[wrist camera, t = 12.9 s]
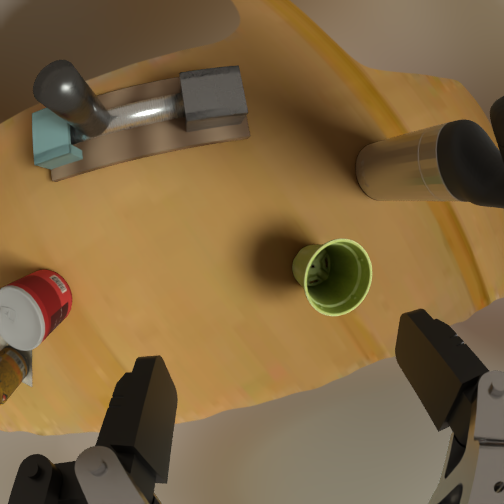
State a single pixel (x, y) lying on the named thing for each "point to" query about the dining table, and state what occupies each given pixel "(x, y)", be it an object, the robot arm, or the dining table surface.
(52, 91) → the slide bolt
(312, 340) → the dining table surface
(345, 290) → the plant pot
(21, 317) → the canned food
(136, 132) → the board
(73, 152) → the socket block
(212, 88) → the sleeve
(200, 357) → the dining table surface
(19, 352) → the condiment
